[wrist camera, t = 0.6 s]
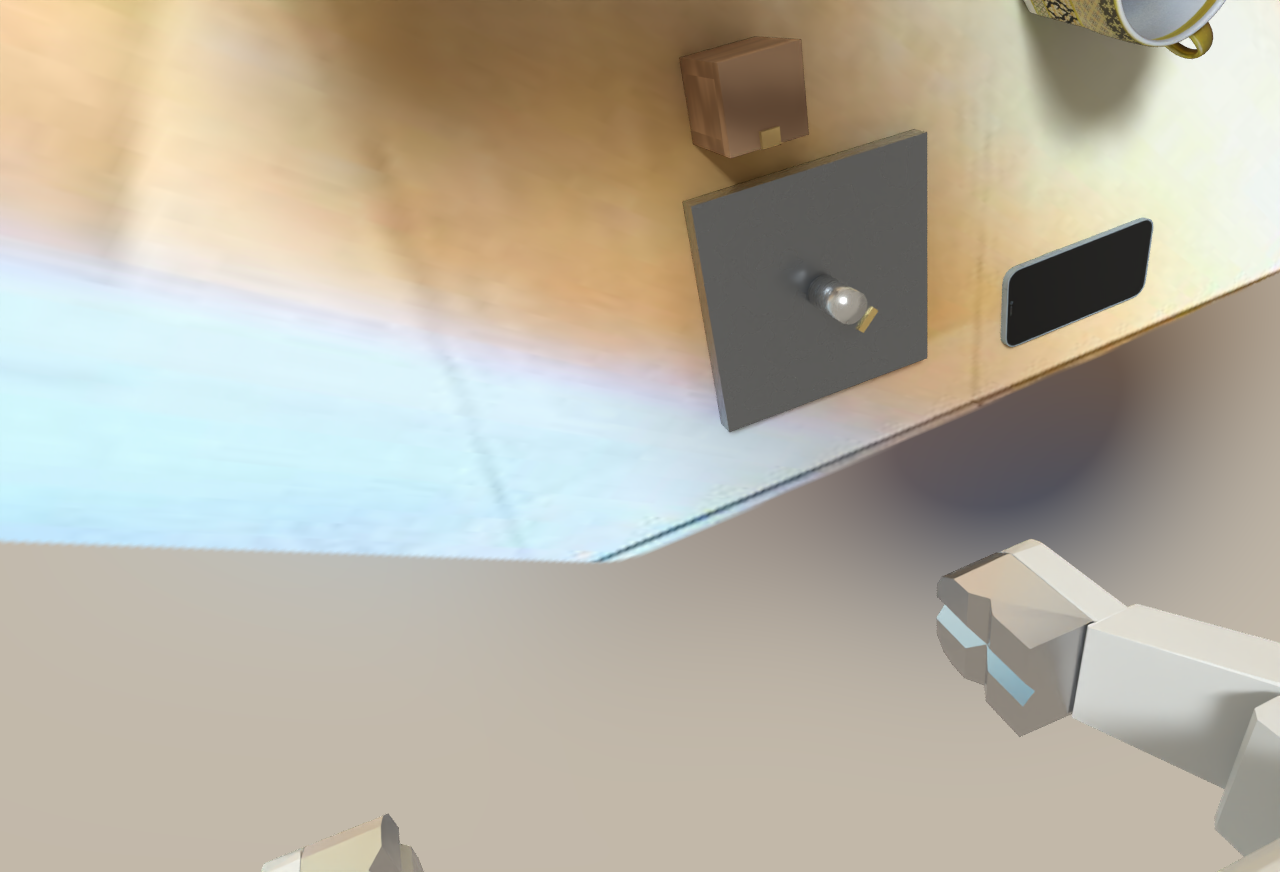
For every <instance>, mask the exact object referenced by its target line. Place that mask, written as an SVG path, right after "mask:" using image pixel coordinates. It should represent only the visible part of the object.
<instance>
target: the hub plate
mask: <svg viewBox="0 0 1280 872" xmlns="http://www.w3.org/2000/svg"><path fill="white" fill-rule="evenodd" d="M683 207H684V213H685V219H686V224H687V230H688V236H689V241H690V247H691V253H692V259H693V264H694V270H695V276H696V281H697V287H698V293H699V299H700V304H701V310H702V316H703V321H704V327H705V333H706V339H707V344H708V350H709V356H710V361H711V367H712V373H713V379H714V384H715V390H716V396H717V401H718V407H719V413H720V419H721V424H722V425H723V426H724V427H725V428H726V429H727V430H728V431H729V432H731V431H734V430H736V429H739V428H742V427H744V426H747V425H750V424H752V423H755V422H758V421H760V420H763V419H766V418H768V417H771V416H774V415H776V414H779V413H782V412H784V411H787V410H790V409H792V408H795V407H798V406H800V405H803V404H806V403H808V402H811V401H814V400H816V399H819V398H822V397H824V396H827V395H830V394H833V393H835V392H838V391H841V390H843V389H846V388H849V387H851V386H854V385H857V384H859V383H862V382H865V381H867V380H870V379H873V378H875V377H878V376H881V375H883V374H886V373H889V372H891V371H894V370H897V369H899V368H902V367H905V366H907V365H910V364H913V363H915V362H918V361H921V360H923V359H926V358H927V132H924V131H920V130H915V129H913V130H910V131H907V132H903V133H900V134H897V135H894V136H891V137H888V138H884V139H881V140H878V141H875V142H872V143H868V144H865V145H862V146H859V147H856V148H852V149H849V150H846V151H843V152H840V153H836V154H833V155H830V156H827V157H824V158H820V159H817V160H814V161H811V162H808V163H805V164H801V165H798V166H795V167H792V168H789V169H785V170H782V171H779V172H776V173H773V174H769V175H766V176H763V177H760V178H757V179H753V180H750V181H747V182H744V183H741V184H738V185H734V186H731V187H728V188H725V189H722V190H718V191H715V192H712V193H709V194H706V195H702V196H699V197H696V198H693V199H690V200H686V201H683Z"/></svg>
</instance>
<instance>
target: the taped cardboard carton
mask: <svg viewBox="0 0 1280 872" xmlns="http://www.w3.org/2000/svg"><path fill="white" fill-rule="evenodd" d="M679 59H680V65H681V72H682V78H683V84H684V90H685V96H686V103H687V109H688V115H689V121H690V127H691V134H692V140H693V144H694V145H697V146H699V147H702V148H704V149H707V150H710V151H712V152H715V153H718V154H720V155H723V156H725V157H728V158H734V157H737V156H740V155H743V154H747V153H750V152H753V151H756V150H760V149H762V150H764V149H768V148H771V147H774V146H777V145H781V143H782V142H786V141H789V140H792V139H796V138H799V137H802V136H805V135H809V131H808V118H807V106H806V94H805V81H804V69H803V57H802V44H801V39H787V38H770V37H752V38H748V39H745V40H741V41H737V42H734V43H730V44H727V45H723V46H719V47H716V48H712V49H709V50H705V51H701V52H698V53H694V54H691V55H687V56H683V57H680V58H679Z"/></svg>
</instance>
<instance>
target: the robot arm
mask: <svg viewBox="0 0 1280 872" xmlns="http://www.w3.org/2000/svg"><path fill="white" fill-rule="evenodd" d="M937 597H938V598H939V599H940V600H941V601H942V602H943V603H944V604H945V605H944V607H943V609H942V610H941V612H940V613H939V615H938V617H937V636H938V638H939V640H940V643H941V646H942V648H943V651H944V653H945V654H946V656H947V657H948V659H949V660H950V662H951V663H952V665H953V666H954V667H955V668H956V669H957V670H958V671H959V673H960V674H961V675H962V676H963V677H964V678H966V679H968V680H971V681H974V682H977V683H979V684H982V685H984V688H985V698H986V702H987V703H988V704H989V705H990V706H991V707H992V708H993V709H994V710H995V711H996V712H997V714H998V715H999V716H1000V717H1001V718H1002V719H1003V720H1004V721H1005V722H1006V723H1007V724H1008V725H1009V726H1010V727H1011V728H1012V729H1013V730H1014V732H1016V734H1017V735H1018V736H1019V737H1021V736H1023V735H1025V734H1028V733H1030V732H1032V731H1034V730H1037V729H1039V728H1041V727H1043V726H1046V725H1048V724H1050V723H1052V722H1055V721H1057V720H1059V719H1062V718H1064V717H1066V716H1068V715H1071V714H1072V718H1074V719H1076V720H1078V721H1080V722H1082V723H1085V724H1087V725H1089V726H1091V727H1093V728H1095V729H1097V730H1099V731H1102V732H1104V733H1106V734H1108V735H1110V736H1112V737H1115V738H1117V739H1119V740H1121V741H1123V742H1125V743H1127V744H1129V745H1131V746H1134V747H1136V748H1138V749H1140V750H1142V751H1144V752H1147V753H1149V754H1151V755H1153V756H1155V757H1157V758H1159V759H1161V760H1164V761H1166V762H1168V763H1170V764H1172V765H1174V766H1176V767H1179V768H1181V769H1183V770H1185V771H1187V772H1189V773H1192V774H1193V775H1196V776H1198V777H1200V778H1202V779H1204V780H1207V781H1208V782H1211V783H1213V784H1215V785H1217V786H1219V787H1221V788H1223V789H1225V790H1224V793H1223V796H1222V798H1221V801H1220V804H1219V806H1218V809H1217V812H1216V814H1215V829H1216V831H1217V832H1218V833H1220V834H1221V835H1222V836H1223V837H1224V838H1225V839H1226V840H1227V841H1228V842H1229V843H1230V844H1231V845H1232V846H1233V847H1234V848H1235V849H1236V850H1238V852H1240V853H1241V854H1242V855H1243V856H1244V857H1243V858H1242V859H1240V860H1238V861H1236V862H1234V863H1232V864H1230V865H1229V866H1227V867H1225V868H1223V869H1221V870H1219V871H1218V872H1280V643H1278V642H1275V641H1271V640H1268V639H1264V638H1260V637H1257V636H1253V635H1249V634H1246V633H1242V632H1238V631H1235V630H1231V629H1227V628H1223V627H1220V626H1216V625H1213V624H1209V623H1205V622H1202V621H1198V620H1194V619H1191V618H1187V617H1184V616H1180V615H1176V614H1173V613H1169V612H1165V611H1161V610H1158V609H1154V608H1150V607H1147V606H1143V605H1140V604H1134V605H1132V606H1129V607H1127V606H1125V605H1124V604H1123V603H1121V602H1120V601H1119V600H1117V599H1116V598H1115V597H1113V596H1112V595H1111V594H1109V593H1108V592H1107V591H1105V590H1104V589H1103V588H1101V587H1100V586H1099V585H1097V584H1096V583H1095V582H1093V581H1092V580H1091V579H1089V578H1088V577H1087V576H1085V575H1084V574H1083V573H1081V572H1080V571H1079V570H1077V569H1076V568H1074V567H1073V566H1072V565H1071V564H1069V563H1068V562H1067V561H1065V560H1064V559H1063V558H1061V557H1060V556H1059V555H1057V554H1056V553H1055V552H1053V551H1052V550H1051V549H1050V548H1048V547H1047V546H1046V545H1044V544H1043V543H1041V542H1039V541H1036V540H1033V539H1030V540H1027V541H1024V542H1022V543H1020V544H1017V545H1015V546H1013V547H1010V548H1008V549H1006V550H1003V551H1001V552H999V553H995V554H992V555H990V556H988V557H985V558H983V559H981V560H979V561H976V562H974V563H972V564H969V565H967V566H965V567H963V568H960V569H958V570H956V571H954V572H951V573H949V574H947V575H945V576H942V577H941V579H940V580H939V582H938V584H937ZM261 872H424V871H423V868H422V866H421V863H420V861H419V859H418V857H417V855H416V853H415V852H414V850H413V849H412V847H411V846H407V845H403V844H400V841H399V828H398V826H397V825H396V823H395V822H394V821H393V819H392V818H391V817H390V815H389V814H386V815H384V816H381V817H379V818H376V819H374V820H371V821H368V822H366V823H363V824H361V825H358V826H356V827H353V828H351V829H348V830H346V831H343V832H341V833H338V834H336V835H333V836H330V837H328V838H325V839H323V840H320V841H318V842H315V843H313V844H310V845H308V846H305V847H303V848H300V849H298V850H295V851H293V852H291V853H288V854H286V855H284V856H281V857H279V858H276V859H274V860H271V861H269V862H267V863H264V866H263V868H262V871H261Z"/></svg>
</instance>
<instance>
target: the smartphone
mask: <svg viewBox="0 0 1280 872" xmlns="http://www.w3.org/2000/svg"><path fill="white" fill-rule="evenodd" d="M1152 233H1153V222H1152V220H1150V219H1147V218H1139V219H1136V220H1134V221H1131V222H1129V223H1126V224H1123V225H1121V226H1118V227H1116V228H1113V229H1110V230H1108V231H1105V232H1103V233H1100V234H1097V235H1095V236H1092V237H1090V238H1087V239H1084V240H1082V241H1079V242H1077V243H1074V244H1071V245H1069V246H1066V247H1064V248H1061V249H1057V250H1055V251H1052V252H1050V253H1047V254H1045V255H1043V256H1040V257H1038V258H1035V259H1032V260H1030V261H1027V262H1025V263H1022V264H1019V265H1017V266H1014V267H1012V268H1011V269H1010V270H1009V271H1008V272H1007V273H1006V274H1005V276H1004V279H1003V284H1002V311H1001V341H1002V342H1003V343H1004V344H1006V345H1008V346H1010V347H1014V346H1017V345H1020V344H1022V343H1025V342H1027V341H1030V340H1032V339H1034V338H1037V337H1039V336H1042V335H1044V334H1047V333H1049V332H1051V331H1054V330H1056V329H1059V328H1061V327H1064V326H1066V325H1068V324H1071V323H1073V322H1076V321H1078V320H1081V319H1083V318H1085V317H1088V316H1090V315H1093V314H1095V313H1097V312H1100V311H1102V310H1105V309H1107V308H1110V307H1112V306H1114V305H1117V304H1119V303H1122V302H1124V301H1127V300H1129V299H1131V298H1134V297H1135V296H1137V295H1138V294H1139V293H1140V292H1141V291H1142V289H1143V288H1144V285H1145V281H1146V275H1147V268H1148V261H1149V254H1150V247H1151V240H1152Z"/></svg>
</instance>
